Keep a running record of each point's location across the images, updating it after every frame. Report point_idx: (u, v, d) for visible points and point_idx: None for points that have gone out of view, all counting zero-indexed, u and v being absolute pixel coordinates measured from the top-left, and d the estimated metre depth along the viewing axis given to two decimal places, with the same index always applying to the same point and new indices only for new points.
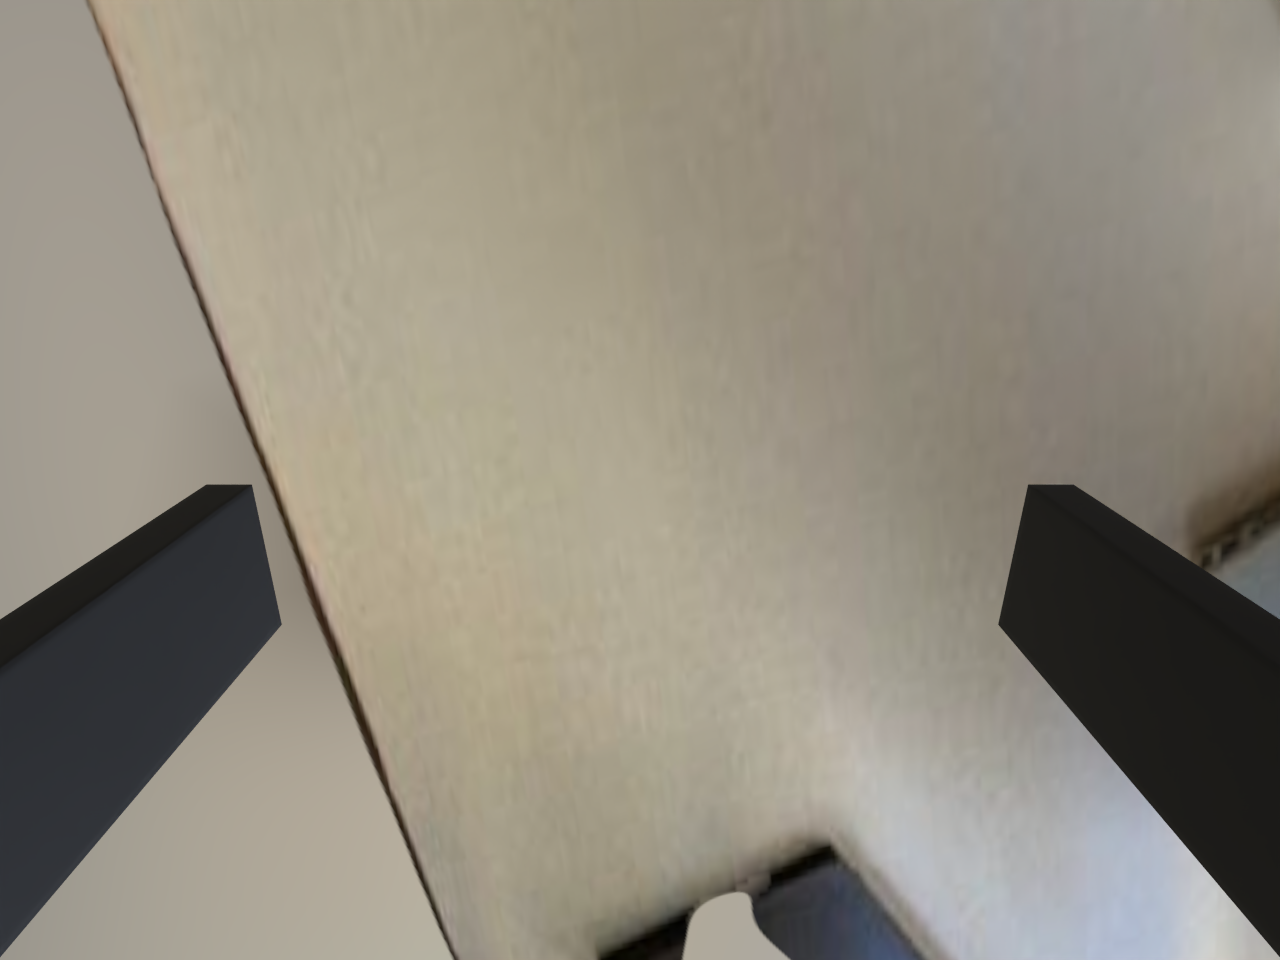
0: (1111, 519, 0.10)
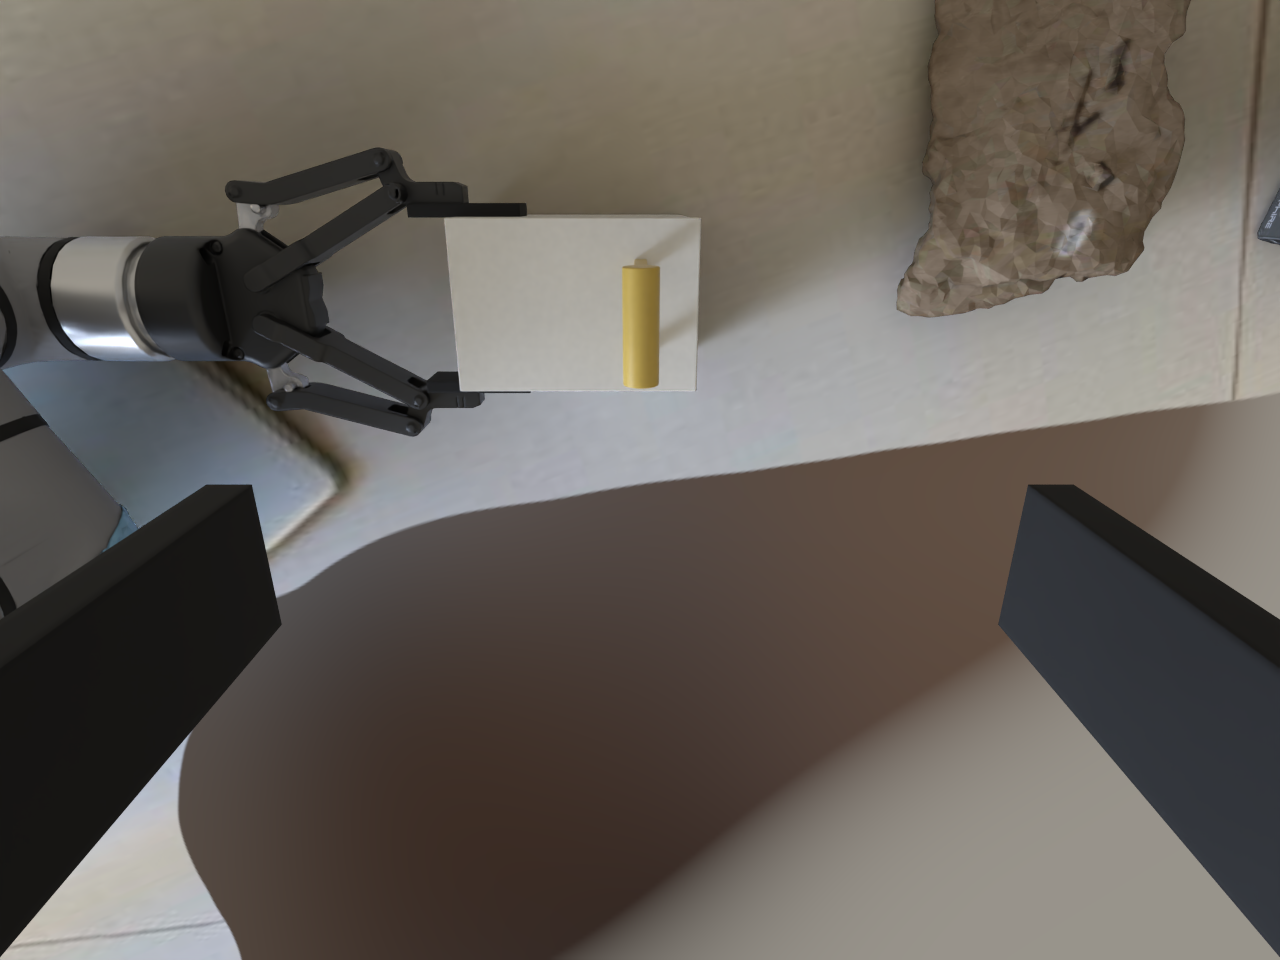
0: (1111, 519, 0.10)
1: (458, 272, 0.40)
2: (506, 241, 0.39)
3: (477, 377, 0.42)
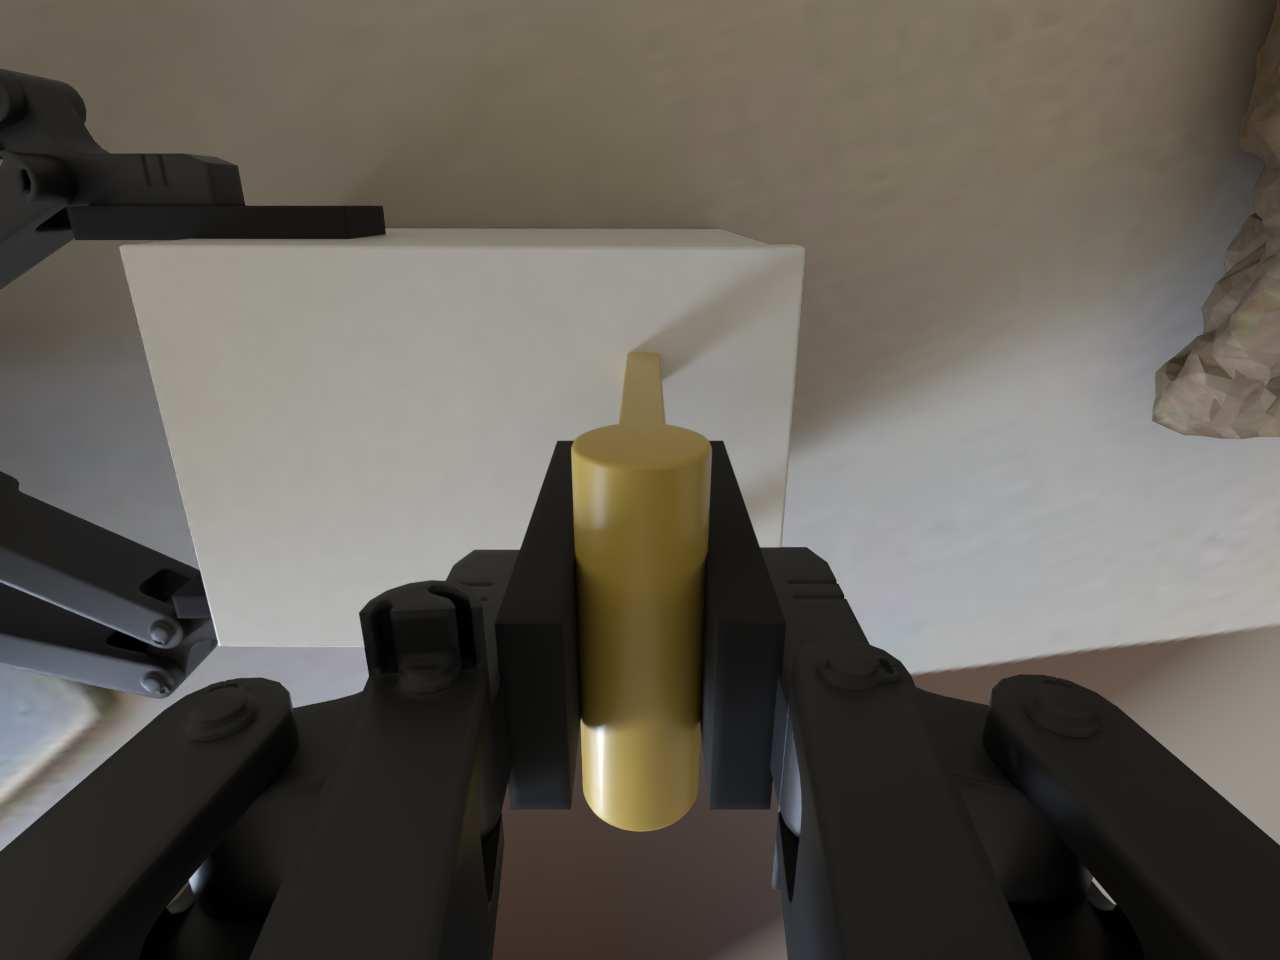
0: (718, 465, 0.13)
1: (176, 383, 0.16)
2: (290, 306, 0.15)
3: (255, 617, 0.18)
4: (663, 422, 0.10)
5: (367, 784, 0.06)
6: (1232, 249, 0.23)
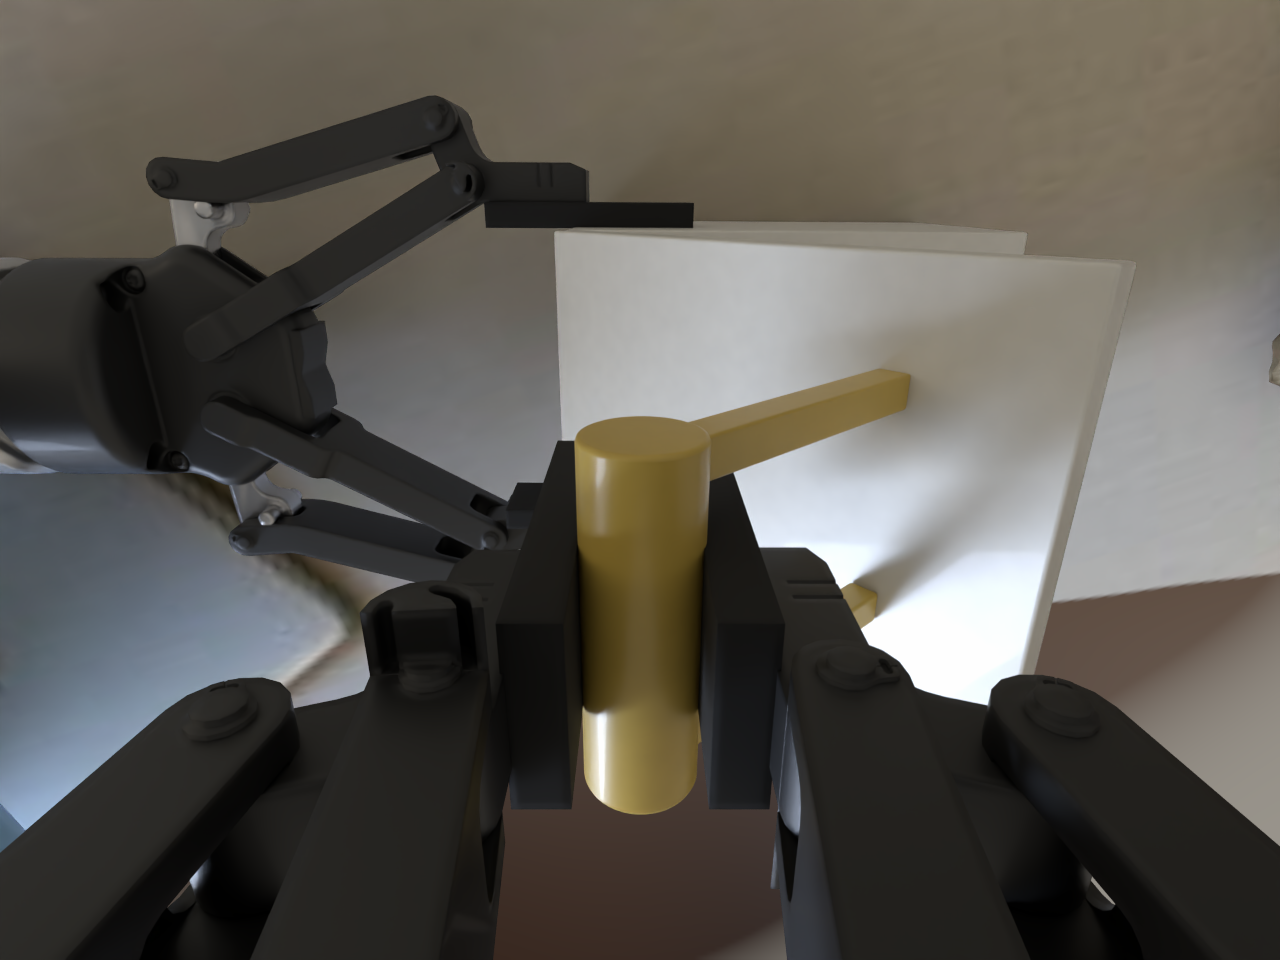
0: None
1: (567, 335, 0.21)
2: (632, 286, 0.18)
3: None
4: (728, 429, 0.10)
5: (368, 784, 0.06)
6: None
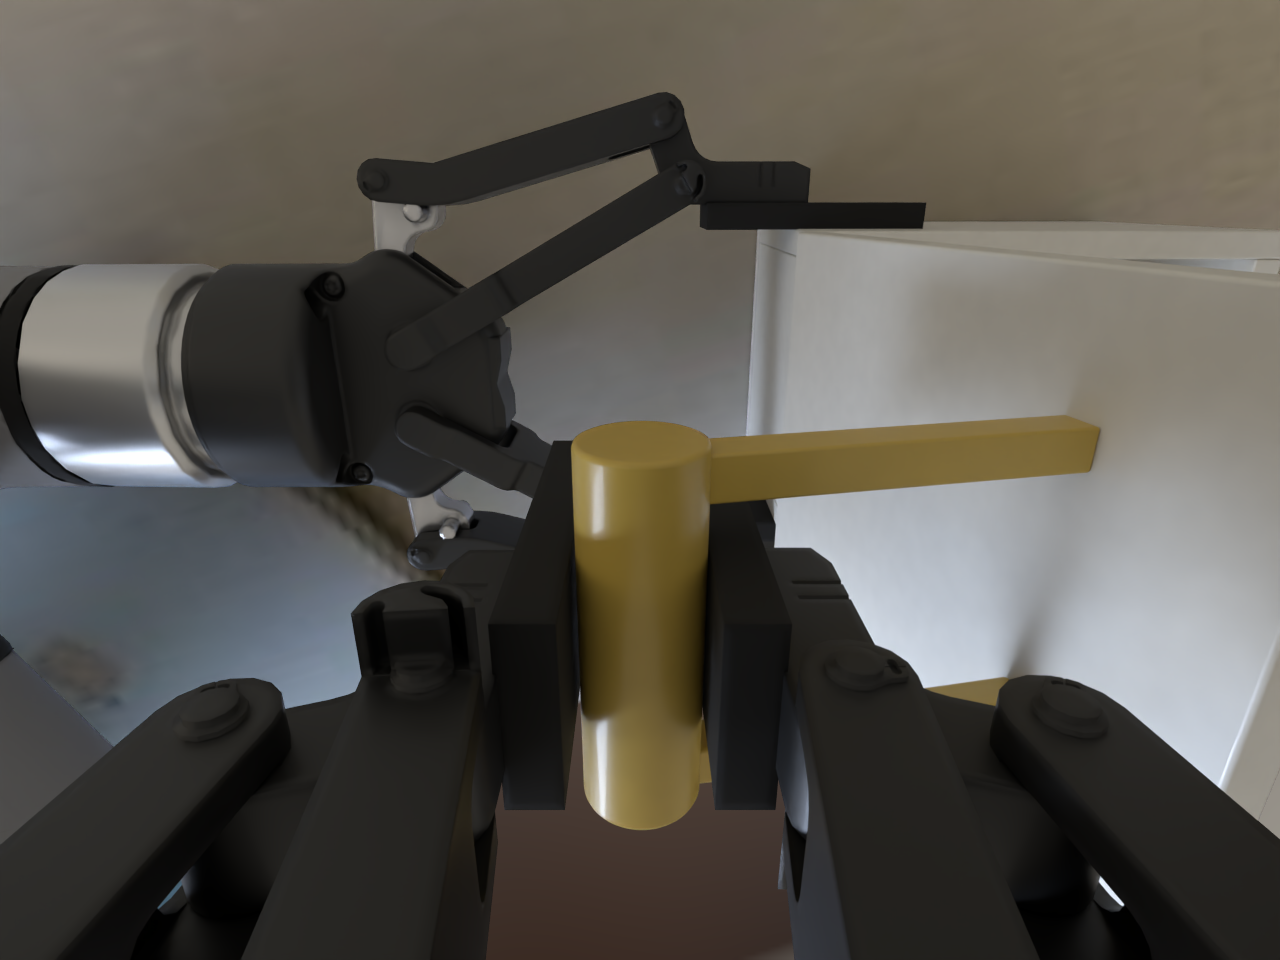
0: None
1: (796, 341, 0.20)
2: (849, 293, 0.17)
3: (788, 542, 0.22)
4: (751, 451, 0.09)
5: (360, 785, 0.06)
6: None
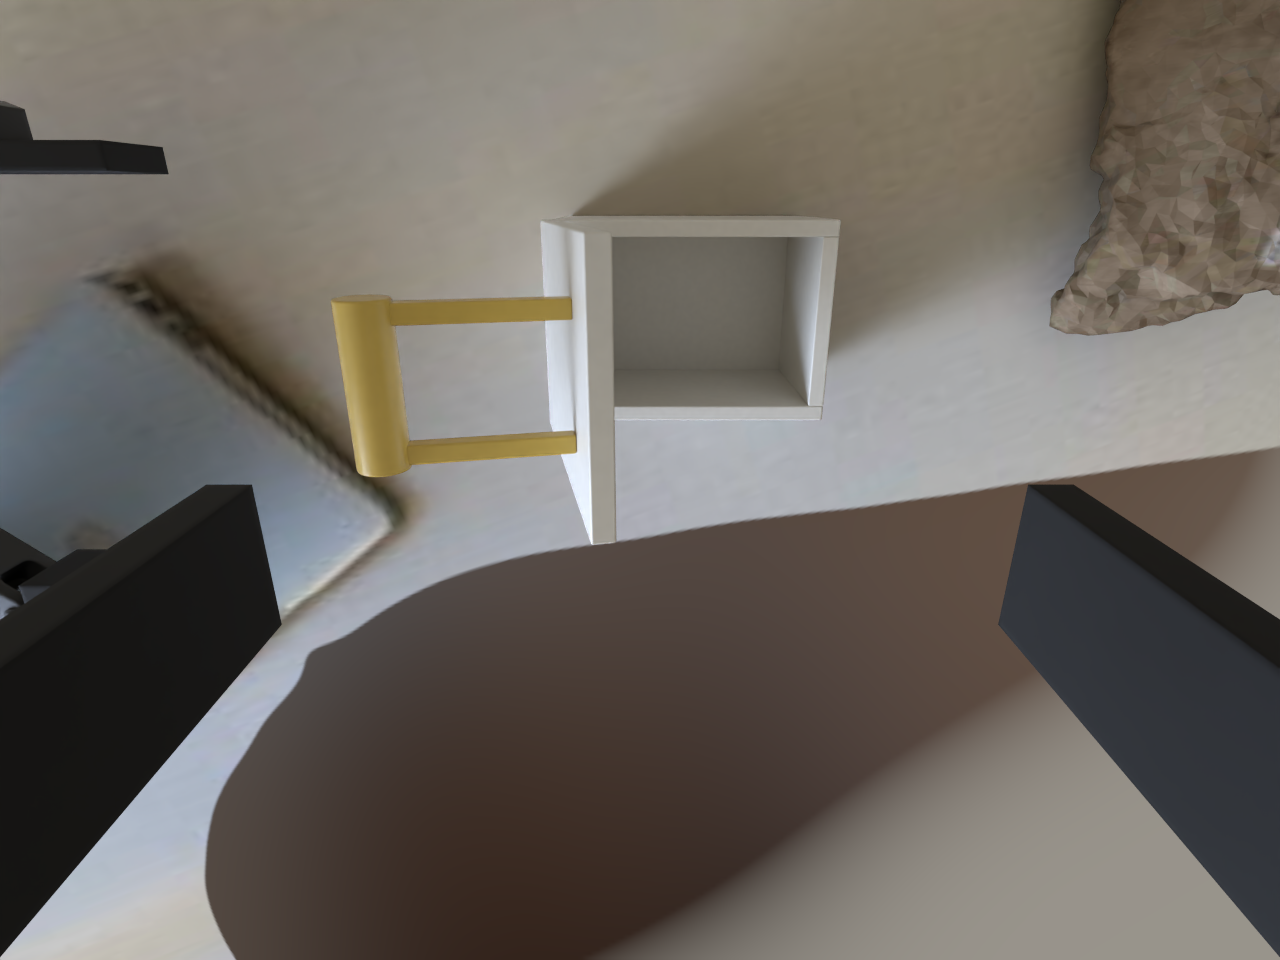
0: (1111, 519, 0.10)
1: (544, 286, 0.33)
2: (548, 252, 0.30)
3: (551, 413, 0.35)
4: (406, 303, 0.22)
5: None
6: (1092, 226, 0.41)
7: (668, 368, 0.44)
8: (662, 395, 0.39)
